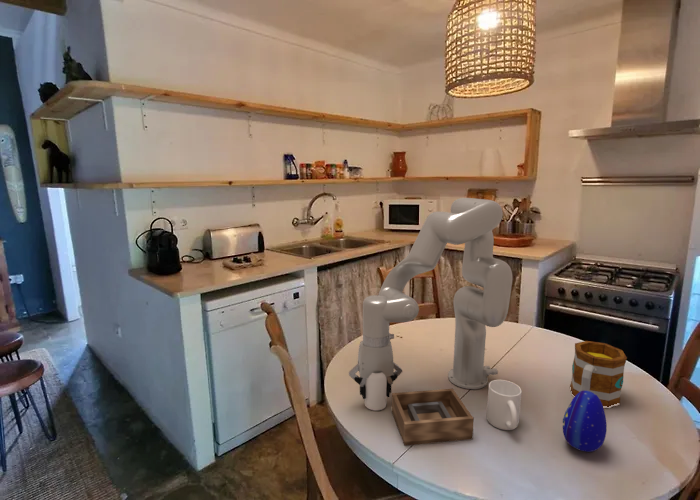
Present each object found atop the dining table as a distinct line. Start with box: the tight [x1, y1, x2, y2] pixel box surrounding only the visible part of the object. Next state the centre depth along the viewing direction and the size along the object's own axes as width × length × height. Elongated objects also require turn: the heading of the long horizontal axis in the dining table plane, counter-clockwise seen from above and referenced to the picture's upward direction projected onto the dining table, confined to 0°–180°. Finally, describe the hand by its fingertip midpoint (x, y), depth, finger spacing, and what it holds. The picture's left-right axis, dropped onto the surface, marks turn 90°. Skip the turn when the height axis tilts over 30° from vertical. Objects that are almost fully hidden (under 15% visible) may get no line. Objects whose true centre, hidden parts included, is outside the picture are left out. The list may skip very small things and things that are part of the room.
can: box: [364, 371, 387, 412], centre depth 113 cm, size 6×6×12 cm
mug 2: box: [569, 340, 628, 407], centre depth 115 cm, size 20×14×15 cm
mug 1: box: [486, 379, 522, 431], centre depth 104 cm, size 12×8×10 cm
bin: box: [391, 388, 475, 447], centre depth 105 cm, size 18×14×6 cm
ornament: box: [562, 391, 608, 453], centre depth 95 cm, size 11×9×15 cm
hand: (375, 395), depth 114 cm, fingers closed on can, 6 cm apart
